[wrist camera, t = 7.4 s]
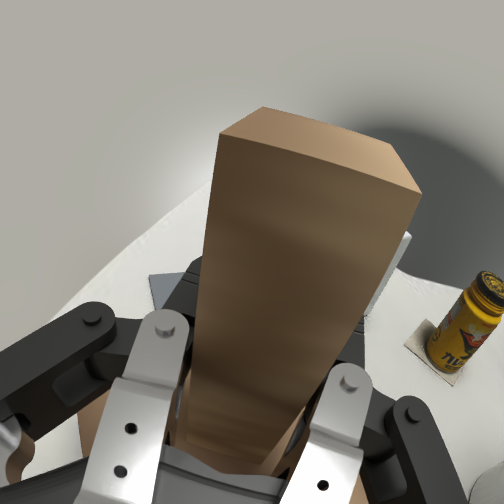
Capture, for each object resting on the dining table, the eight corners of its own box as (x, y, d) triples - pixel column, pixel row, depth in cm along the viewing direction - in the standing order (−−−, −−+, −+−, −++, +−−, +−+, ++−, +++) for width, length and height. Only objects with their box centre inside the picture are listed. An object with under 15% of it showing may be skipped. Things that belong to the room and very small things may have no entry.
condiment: (452, 386, 30) (515, 315, 23) (403, 345, 35) (456, 267, 28) (467, 356, 35) (520, 289, 28) (424, 320, 39) (469, 249, 32)
